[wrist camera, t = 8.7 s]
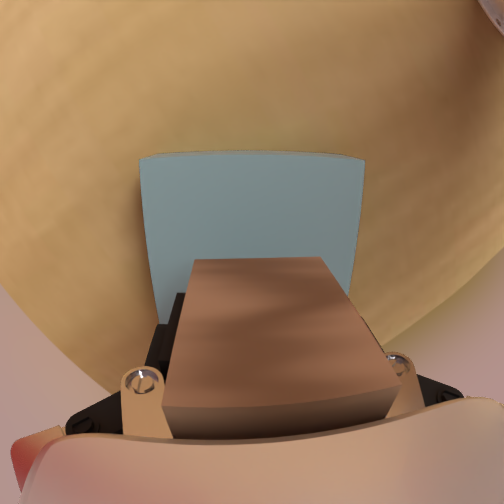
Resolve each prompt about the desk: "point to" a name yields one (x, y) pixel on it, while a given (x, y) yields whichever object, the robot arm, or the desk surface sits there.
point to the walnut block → (272, 354)
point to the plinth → (247, 211)
